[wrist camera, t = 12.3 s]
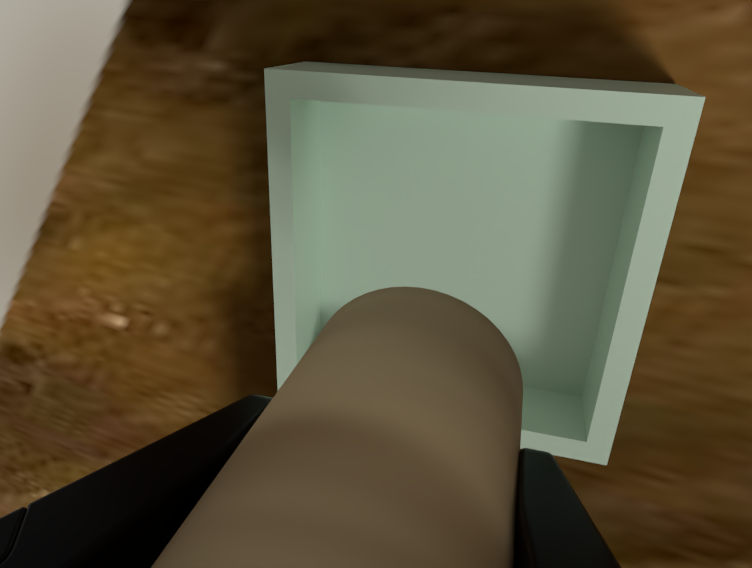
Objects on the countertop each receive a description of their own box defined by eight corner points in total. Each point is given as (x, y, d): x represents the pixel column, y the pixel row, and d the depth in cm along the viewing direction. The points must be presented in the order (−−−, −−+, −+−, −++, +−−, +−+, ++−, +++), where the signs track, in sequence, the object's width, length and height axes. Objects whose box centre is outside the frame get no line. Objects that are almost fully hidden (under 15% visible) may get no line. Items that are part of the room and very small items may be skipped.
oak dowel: (507, 486, 10) (454, 1205, 4) (314, 445, 11) (20, 991, 5) (539, 304, 9) (532, 1009, 2) (312, 271, 9) (-124, 744, 3)
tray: (597, 405, 17) (606, 465, 15) (309, 354, 19) (278, 400, 17) (676, 83, 13) (705, 96, 11) (306, 61, 15) (263, 68, 13)
